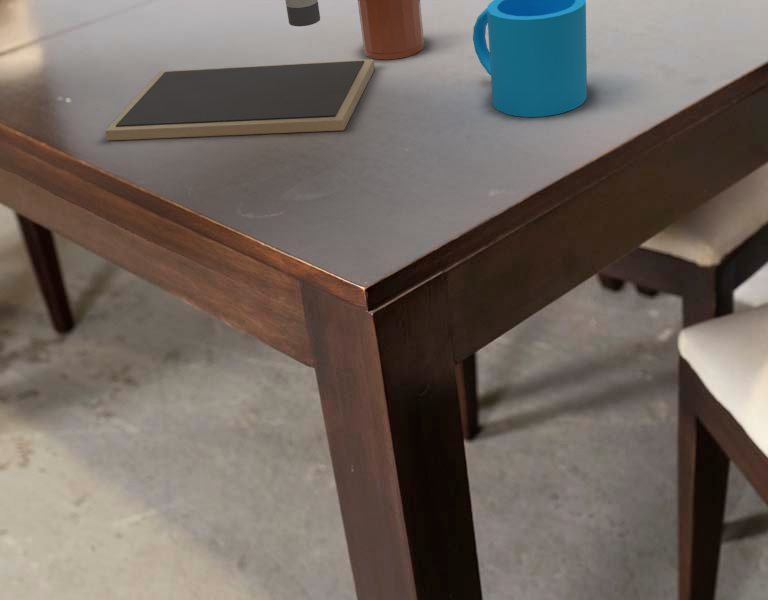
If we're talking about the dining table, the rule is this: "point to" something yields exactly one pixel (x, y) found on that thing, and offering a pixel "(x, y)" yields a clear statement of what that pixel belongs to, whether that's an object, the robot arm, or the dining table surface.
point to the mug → (534, 55)
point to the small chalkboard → (245, 101)
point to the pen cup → (391, 28)
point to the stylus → (302, 12)
